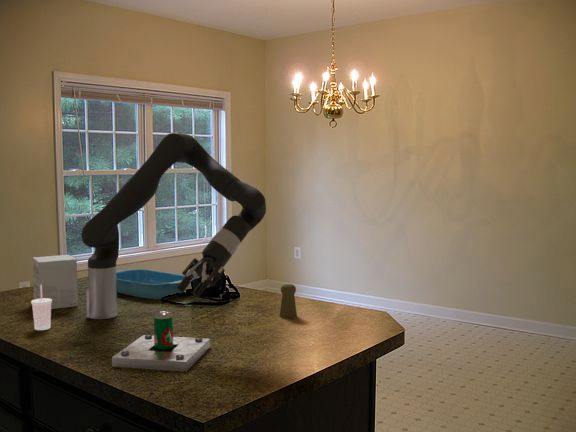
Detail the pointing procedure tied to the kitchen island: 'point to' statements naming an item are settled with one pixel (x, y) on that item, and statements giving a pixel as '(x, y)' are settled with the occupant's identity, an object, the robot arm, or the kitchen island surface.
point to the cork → (288, 301)
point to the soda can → (163, 331)
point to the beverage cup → (42, 312)
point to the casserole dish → (148, 283)
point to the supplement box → (56, 280)
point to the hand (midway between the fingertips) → (187, 292)
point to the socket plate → (161, 354)
